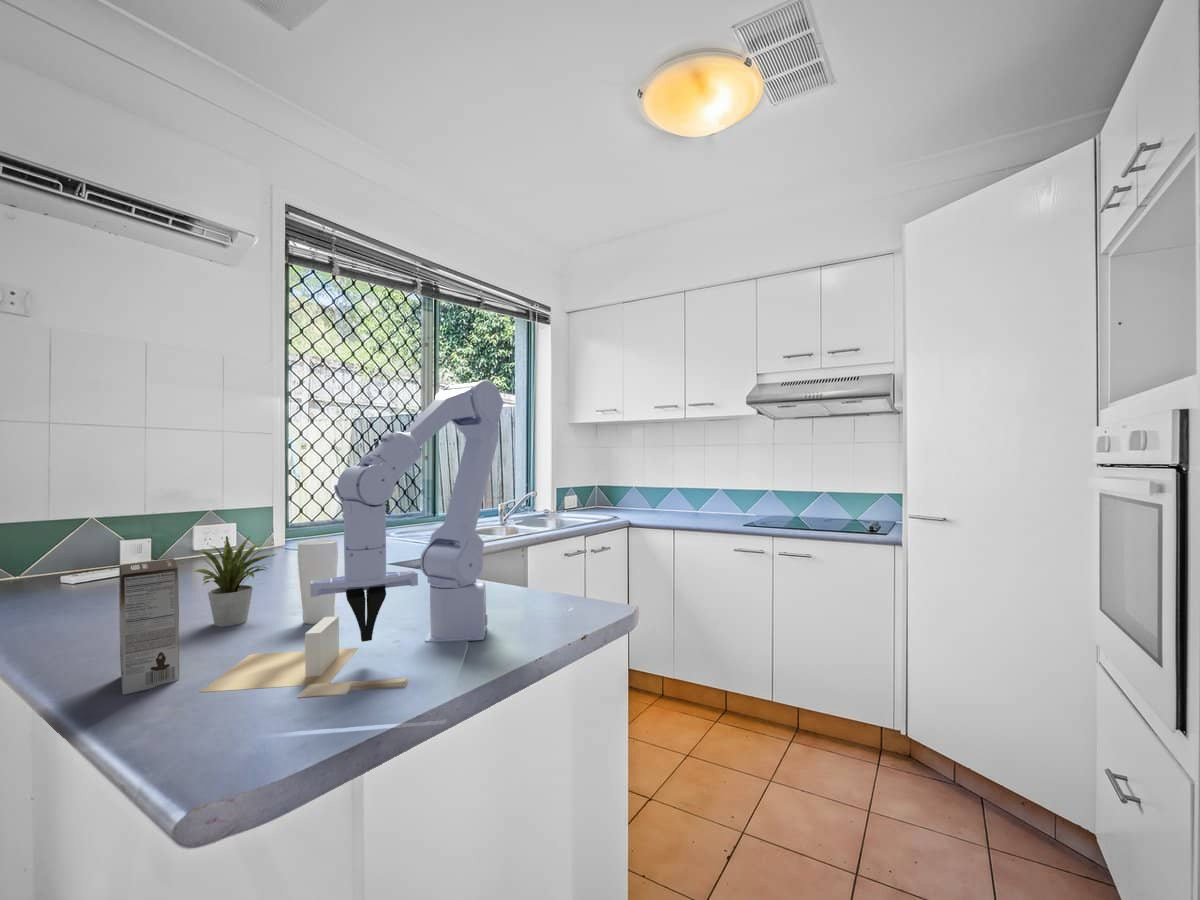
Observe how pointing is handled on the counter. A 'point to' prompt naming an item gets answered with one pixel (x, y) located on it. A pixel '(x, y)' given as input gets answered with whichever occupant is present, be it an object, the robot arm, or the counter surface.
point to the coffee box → (149, 624)
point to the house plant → (231, 584)
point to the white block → (321, 646)
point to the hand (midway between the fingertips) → (366, 639)
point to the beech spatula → (350, 687)
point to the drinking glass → (317, 577)
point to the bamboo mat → (275, 671)
